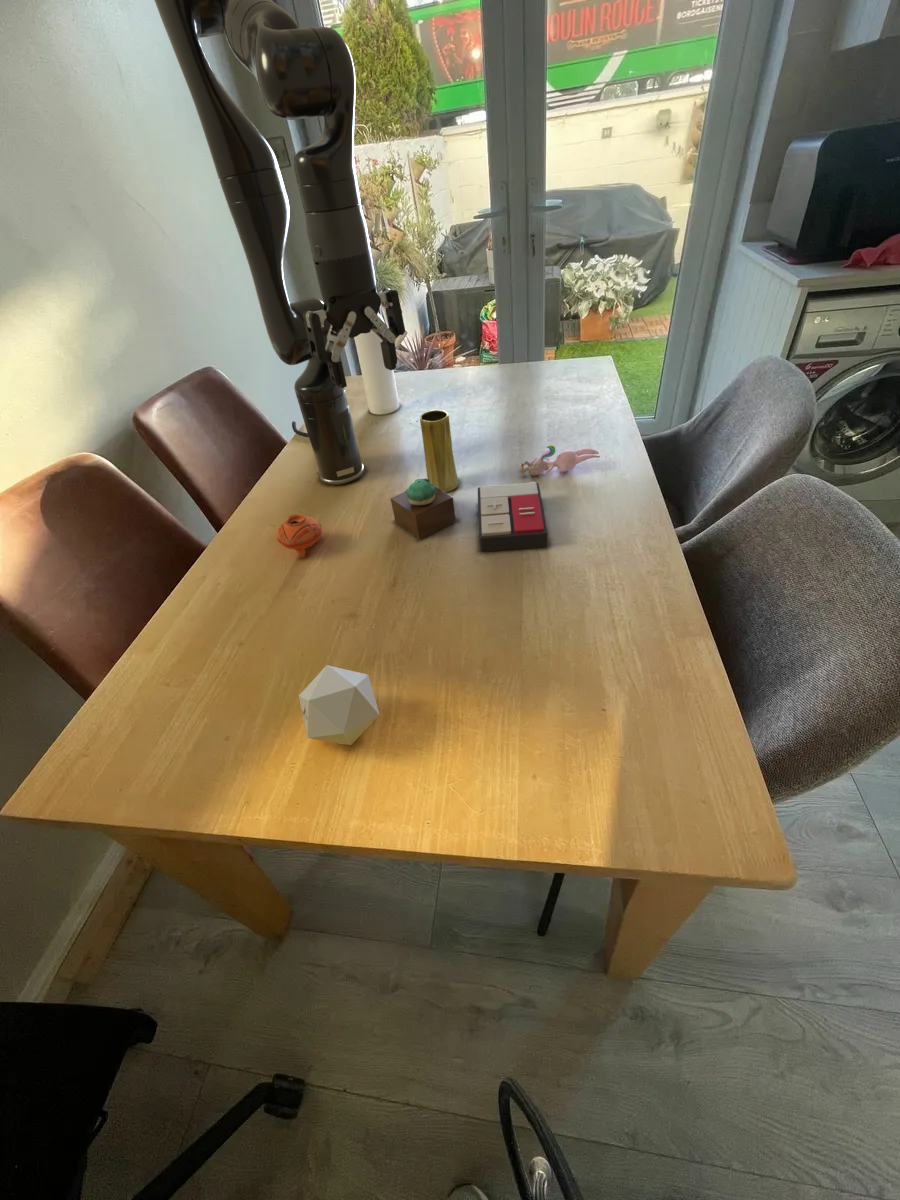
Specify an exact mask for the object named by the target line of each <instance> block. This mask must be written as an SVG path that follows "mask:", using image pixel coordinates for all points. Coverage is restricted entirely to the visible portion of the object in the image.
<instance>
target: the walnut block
mask: <svg viewBox="0 0 900 1200" xmlns="http://www.w3.org/2000/svg"><path fill="white" fill-rule="evenodd" d="M429 484H430V483H429ZM431 486H434V485H432V484H431ZM390 502H391V508H392V513H393V517H394V522H395V523H396V524H397V525H398V526H400V527H402V528H403V529H405V530H406V531H407V532H409V533H410V534H411V535H413V536H414V537H416V538H417V539H418V540H422V539H424V538H426V537H428V536H430V535H432V534H433V533H435V532H438V531H440V530H441V529H443V528H445V527H447V526H448V525H451V524H453V523H455V522H456V519H457V517H456V512H455V511H456V509H455V503H454V496H452V495H451V494H449V493H448V492H444V491H442V490H440V489H439V488H438V491H437V492H436V493H435V499H434V500H433V501H432V502H431V503H429V504H426V505H413V504H411V503H410V502H409V500H408V496H407V495H406V494H405V491H403V492H401V493H399V494H397V495H394V496H393V497H391V498H390Z"/></svg>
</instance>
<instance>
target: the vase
mask: <svg viewBox="0 0 900 1200" xmlns="http://www.w3.org/2000/svg"><path fill="white" fill-rule="evenodd" d="M419 421H420V422H419V424H420V428H421V436H422V437H421V438H422V445H423V453H424V461H425V469H426V479H429V480H430V484H432V485H434V486H436V487H437V488H439V489H440V490H442V491H444V492H445V493H448V492H452V491H453V490H455V489H456V488H457V487H458V486H459V479H458V473H457V468H456V463H455V458H454V451H453V441H452V432H451V424H450V423H451V422H450V415H449V413H448V412H447V411H445V410H441V409H431V410H428V411H425V412H423V413H422V414H421V415H420V417H419Z"/></svg>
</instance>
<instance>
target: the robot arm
mask: <svg viewBox="0 0 900 1200" xmlns="http://www.w3.org/2000/svg"><path fill="white" fill-rule="evenodd" d="M153 2H154V4H155V6H156V8H157V11H158V13H159V16H160V19H161V22H162V25H163V27H164V31H165V32H166V34H167V37H168V40H169V42H170V45H171V46H172V51H173V52H174V55H175V57H176V60H177V62H178V65H179V67H180V70H181V73H182V76H183V77H184V81H185V83H186V85H187V88H188V91H189V93H190V96H191V99H192V102H193V104H194V106H195V109H196V113H197V115H198V118H199V121H200V124H201V128H202V130H203V133H204V137H205V140H206V142H207V146H208V150H209V152H210V155H211V159H212V162H213V166H214V168H215V172H216V175H217V178H218V180H219V184H220V186H221V190H222V192H223V195H224V199H225V201H226V205H227V207H228V209H229V212H230V215H231V217H232V221H233V224H234V225H235V228H236V232H237V234H238V237H239V239H240V243H241V245H242V249H243V252H244V255H245V259H246V261H247V264H248V267H249V271H250V275H251V277H252V278H251V279H252V282H253V285H254V289H255V293H256V297H257V300H258V304H259V309H260V312H261V316H262V320H263V324H264V326H265V330H266V333H267V335H268V340H269V342H270V344H271V347H272V348H273V351H274V352H275V354H276V355H277V357H278V358H279V359H280V360H281V361H282V362H283V363H284V364H285V365H288V366H295V365H296V366H297V365H299V364H302V363H304V362H307V361H308V362H307V364H306V367H305V369H304V370H303V372H302V373H301V374H300V375H299V376H298V377H297V379H296V380H295V381H294V385H293V388H294V392H295V396H296V399H297V403H298V407H299V410H300V413H301V415H302V419H303V422H304V427H305V429H306V432H304V431H301V430H298V428H297V423H296V421H292V422H291V427H292V430H293V432H294V433H295V434H296V435H298V436H300V437H304V438H305V437H306V438H308V440H309V444H310V446H311V450H312V453H313V457H314V460H315V463H316V467H317V471H318V475H319V479H320V481H321V482H322V483H324V484H325V485H330V486H338V485H339V486H340V485H345V484H349V483H352V482H354V481H356V480H358V479H359V478H360V477H362V476H363V474H364V472H365V467H364V464H363V460H362V456H361V452H360V448H359V443H358V439H357V436H356V435H357V434H356V431H355V426H354V422H353V418H352V413H351V409H350V405H349V401H348V397H347V393H346V388H347V386H348V384H347V379H346V376H345V370H344V364H343V361H342V351H343V349H344V347H346V346H347V343H348V339H349V338H351V339H353V338H354V337H357V336H358V335H359V334H361V333H369V332H371V331H370V330H372V331H374V332H375V333H376V334H377V335H378V336H379V338H380V339H381V340H382V341H383V342H380V344H381V349H382V355H383V361H384V366H385V368H386V369H389V370H393V371H394V370H396V369H397V365H398V355H397V349H396V340H397V338H399V337H400V336H404V335H405V333H406V327H405V321H404V317H403V312H402V307H401V301H400V296H399V291H398V290H396V289H393V288H388V287H384V288H383V289H382V290H381V292H378V291H377V287H376V286H377V278H376V274H375V269H374V262H373V257H372V251H371V245H370V237H369V233H368V227H367V226H368V225H367V223H366V218H365V216H364V212H363V209H362V204H361V198H360V197H361V196H360V192H359V186H358V180H357V179H358V178H357V174H356V169H355V158H354V157H355V153H354V150H355V149H354V147H355V146H354V145H355V144H354V142H355V141H354V140H355V139H354V138H355V137H354V136H355V110H356V109H355V108H356V72H355V66H354V60H353V57H352V54H351V51H350V49H349V47H348V45H347V43H346V41H345V40H344V38H343V37H342V35H341V34H340V33H339V32H338V31H337V30H336V29H335V28H332V27H328V26H313V27H301V28H300V26H299V25H298V23H297V22H296V20H295V19H294V18H293V17H292V16H291V15H290V14H289V13H288V12H287V11H286V10H285V9H284V8H283V7H281V6H280V5H279V4H278V3H276V2H274V1H273V0H154V1H153ZM222 36H225V38H226V41H227V44H228V46H229V49H230V50H231V52H232V53H233V55H234V57H235V58H236V59H237V61H239V62H240V64H241V65H242V66H243V67H244V68H245V69H246V70H247V71H249V72H250V73H251V74H252V75H253V76H254V78H255V79H256V82H257V84H258V88H259V91H260V94H261V97H262V100H263V101H264V104H265V105H266V107H267V109H268V110H269V111H270V113H272V114H273V115H274V116H276V117H278V118H280V119H283V120H288V121H297V120H298V121H299V120H303V119H312V118H318V117H319V118H320V117H322V118H323V122H322V129H321V130H322V131H321V135H320V137H319V139H318V140H316V141H315V142H313V143H312V144H309V145H308V146H306V147H303V148H301V149H300V150H298V151H296V153H295V155H294V157H293V158H294V159H293V166H294V167H293V168H294V173H295V178H296V182H297V185H298V191H299V194H300V199H301V204H302V208H303V211H304V219H305V225H306V233H307V239H308V243H309V247H310V251H311V256H312V261H313V266H314V269H315V274H316V277H317V278H316V279H317V283H318V286H319V291H320V295H321V298H322V300H323V301H322V300H321V299H320V298H317V297H312V296H310V297H306V298H302V299H299V300H297V301H294V302H290V301H289V296H288V292H287V288H286V282H285V276H284V260H285V251H286V246H287V238H288V232H289V226H290V225H289V224H290V202H289V198H288V194H287V191H286V187H285V184H284V183H285V182H284V180H283V176H282V173H281V170H280V169H281V168H280V166H279V162H278V159H277V157H276V154H275V152H274V150H273V149H272V146H271V145H270V144H269V142H268V141H267V140H266V138H265V137H264V135H263V134H262V133H261V131H260V130H259V129H258V127H256V125H255V124H254V123H253V122H252V121H251V120H250V118H249V117H248V116H247V115H246V114H245V112H244V111H243V110H241V108H240V107H239V106H238V104H237V103H236V102H235V100H233V99H232V97H231V96H230V94H229V93H228V91H227V90H226V89H225V88H224V86H223V85H222V83H221V82H220V79H218V77H217V75H216V74H215V71H214V70H213V67H212V65H211V64H210V61H209V60H208V58H207V55H206V53H205V51H204V49H203V46H202V43H201V41H200V39H204V38H212V37H222ZM381 306H382V307H383V308H384V309H385V315H386V319H387V324H388V325H387V324H386V323H384V322H385V321H384V322H383V321H382V320H381V319H380V318H379V317H378V315H377V314H378V313H379V311H380V309H381Z"/></svg>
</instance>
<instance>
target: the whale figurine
mask: <svg viewBox="0 0 900 1200" xmlns="http://www.w3.org/2000/svg"><path fill="white" fill-rule="evenodd" d="M429 483H430V480H429V479H427V478H417V479H416V480H414V482H412V483H411V484H410V485H409V487H408V488H406V489H405V490H404V492H405V494H406V495H407V496H408V500H409V502H410V503H411V504H413V505H426V504H429V503H431V502H432V501H433V500H434V499H435V493H436V492H437V491H438V488H437V487H436V486H431V484H429Z"/></svg>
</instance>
